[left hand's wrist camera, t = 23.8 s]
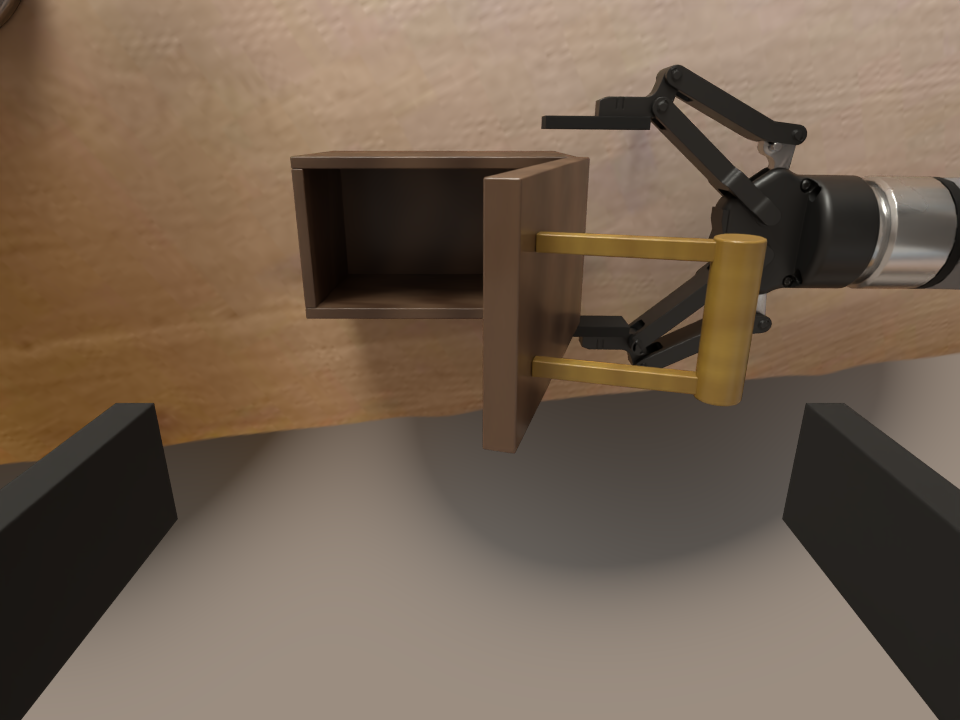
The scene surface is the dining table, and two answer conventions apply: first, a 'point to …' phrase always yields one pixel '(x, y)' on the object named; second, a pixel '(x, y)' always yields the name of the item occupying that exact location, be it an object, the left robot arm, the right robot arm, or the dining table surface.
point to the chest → (396, 230)
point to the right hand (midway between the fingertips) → (538, 229)
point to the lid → (557, 299)
